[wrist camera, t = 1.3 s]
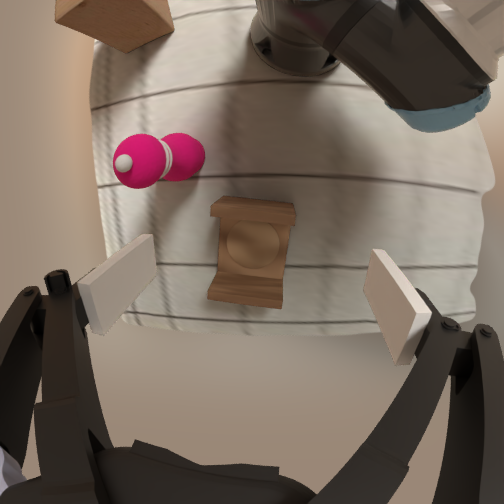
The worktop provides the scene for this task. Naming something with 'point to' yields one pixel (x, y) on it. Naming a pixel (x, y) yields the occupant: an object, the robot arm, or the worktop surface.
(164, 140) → the pepper mill
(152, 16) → the wooden block
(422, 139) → the worktop surface
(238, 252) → the holder
